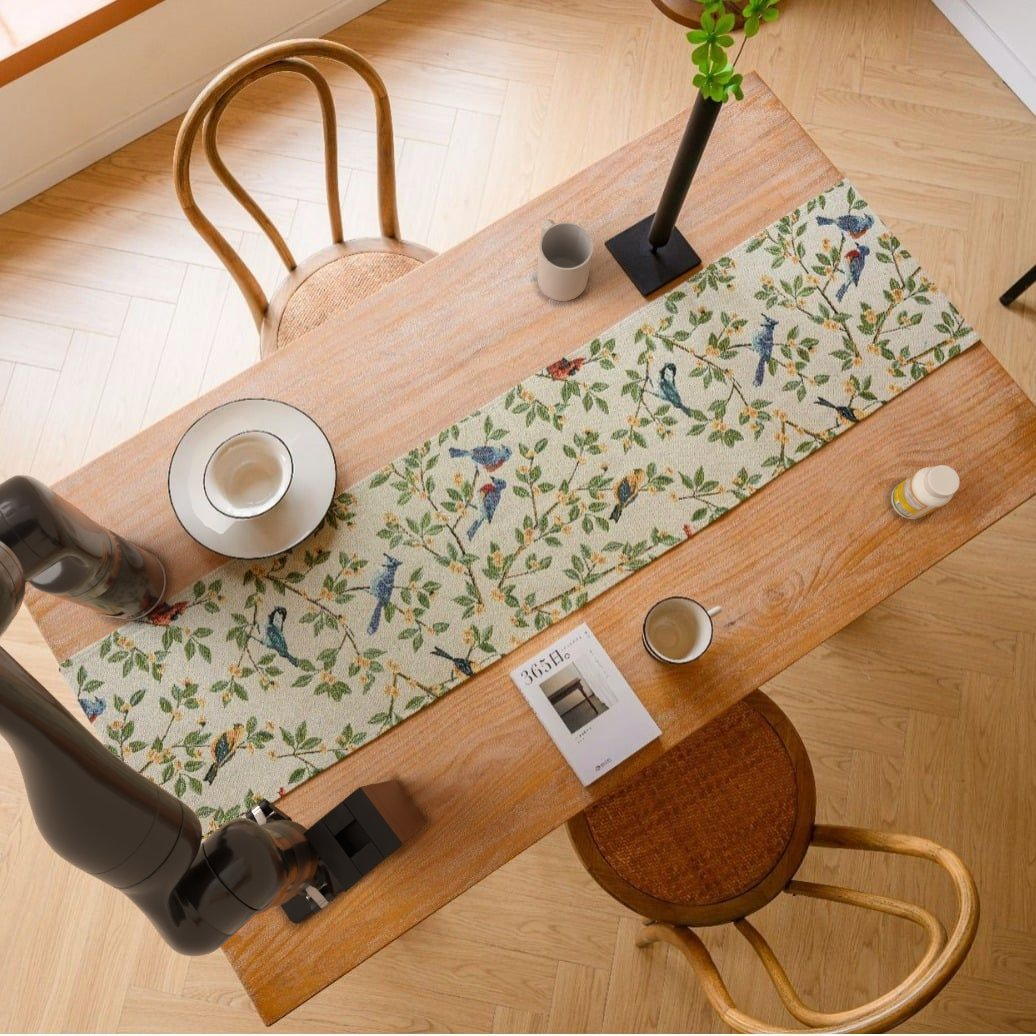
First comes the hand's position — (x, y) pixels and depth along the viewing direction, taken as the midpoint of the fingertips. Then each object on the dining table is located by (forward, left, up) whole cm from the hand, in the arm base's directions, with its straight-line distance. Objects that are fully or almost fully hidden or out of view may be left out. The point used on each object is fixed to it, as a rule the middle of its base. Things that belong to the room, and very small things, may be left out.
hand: (307, 847), depth 104 cm
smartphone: (+2, +1, -7) cm, 7 cm away
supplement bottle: (+15, +87, -6) cm, 89 cm away
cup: (-41, +72, -6) cm, 83 cm away
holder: (+3, +8, -6) cm, 11 cm away
